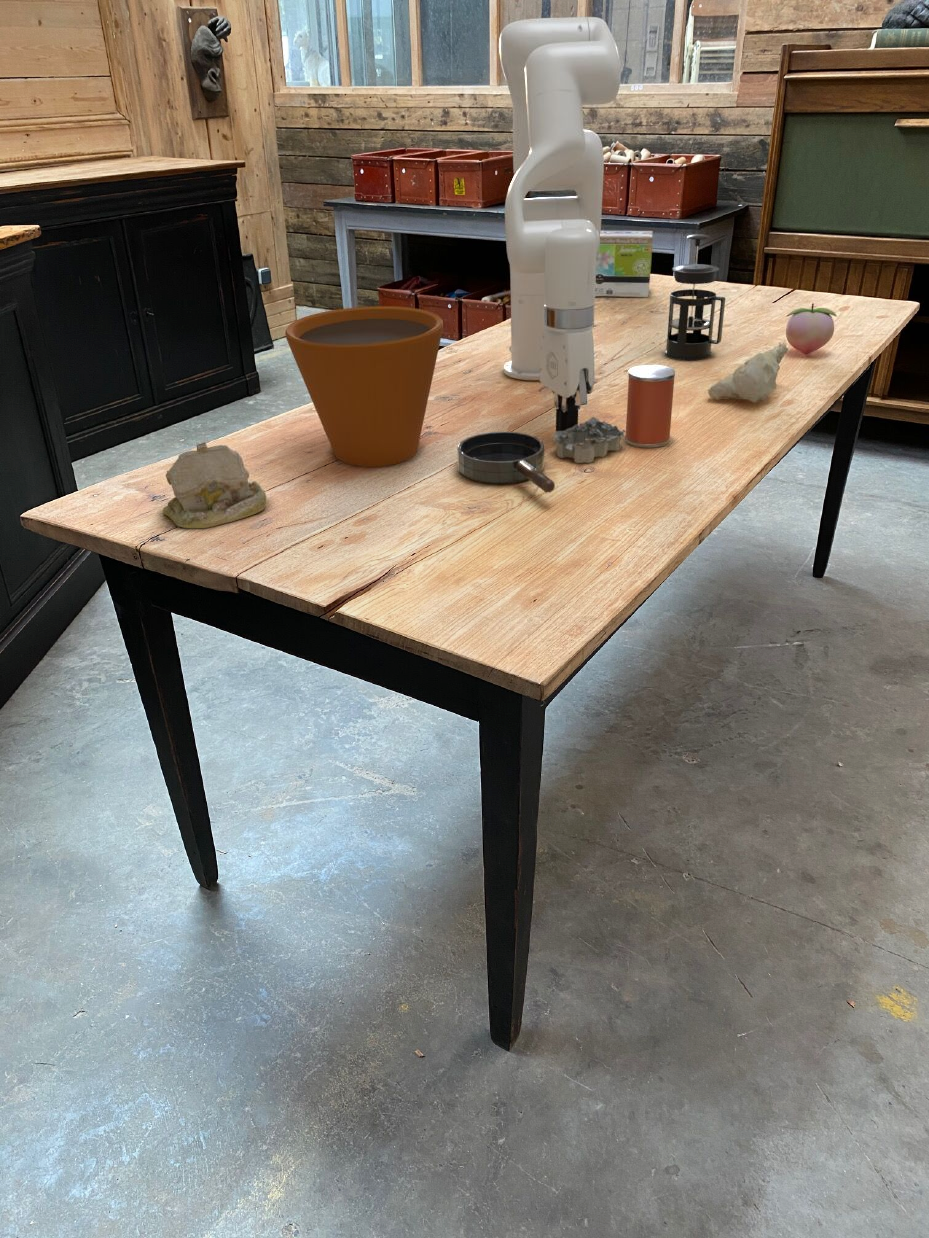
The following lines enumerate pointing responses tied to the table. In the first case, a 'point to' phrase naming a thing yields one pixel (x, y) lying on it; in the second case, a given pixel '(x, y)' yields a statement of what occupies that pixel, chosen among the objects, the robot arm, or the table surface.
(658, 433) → the tin can
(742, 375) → the holed limestone rock
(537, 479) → the pan handle
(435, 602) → the table surface
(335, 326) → the flower pot
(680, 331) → the french press
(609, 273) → the tea box
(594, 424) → the egg carton
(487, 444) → the black pan
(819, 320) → the decorative fruit
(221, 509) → the ceramic model
